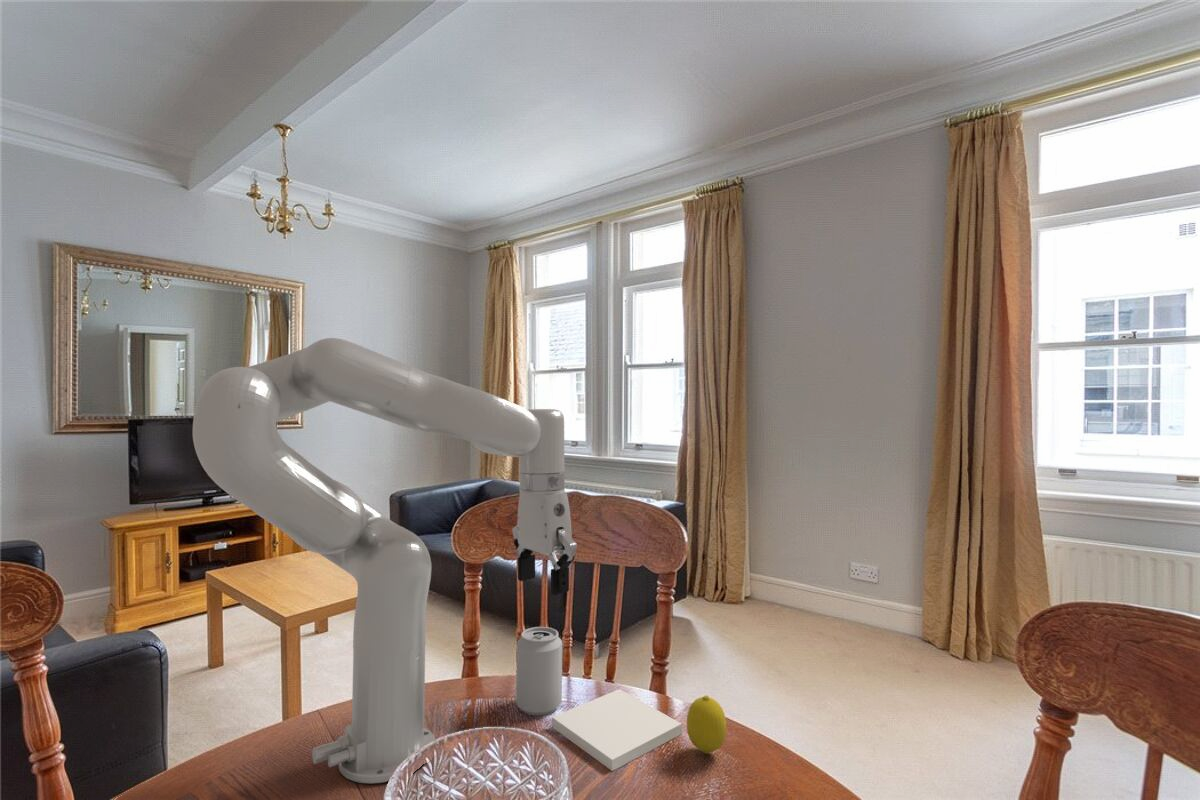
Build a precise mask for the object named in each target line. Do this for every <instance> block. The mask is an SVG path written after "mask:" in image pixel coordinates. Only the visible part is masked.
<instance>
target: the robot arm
mask: <svg viewBox="0 0 1200 800" xmlns="http://www.w3.org/2000/svg"><path fill="white" fill-rule="evenodd" d="M329 402H330V403H331V402H332V403H334V404H337V405H340V406H343V407H345V408H348V409H351V410H354V411H356V412H357V411H358V412H359V413H364V414H366V415H370V416H372V417H375V418H378V419H381V420H384V421H386V422H390V423H392V424H396V425H398V426H401V427H403V428H408V429H412V430H416V431H420V432H425V433H431V434H440V435H444V436H445V435H446V436H451V437H454V438H457V439H462V440H463V441H464V440H465V441H469V442H470V443H471V444H472V445H473V446H474V448H476V449H477V450H479V451H480V452H482V453H485V454H488V455H496V456H505V457H512V458H519V459H518V460H519V463H518V465H519V473H518V474H519V497H518V506H517V524H516V525H515V526H513V527H512V529H511V532H512V535H513V540H514V541H513V543H514V547H515V549H516V550H515V554H516V557H517V580H518V581H520V582H524V581H528V580H532V579H534V578H536V555H535V554H533V553H538V554H540V555H543V556H548V558H549V561H550V563H551V565H552V567H553V568H551V569H550V594H551V595H553V596H557V595H561V594H564V593H567V592H569V590H570V568H571V567H572V563H573V561H574V560H575V555H576V552H577V549H578V545H577V543H576V541H575V540H574V539H573V537H572V536H573V534H572V532H573V531H572V519H571V510H570V509H571V508H570V503H569V498H568V494H567V492H566V490H565V485H566V484H565V483H566V481H565V478H566V477H565V417H564V414H563V412H562V411H560V410H559V409H553V408H551V409H550V408H533V409H527V408H526V407H524V406H521V405H519V404H517V403H514V402H513V401H512V402H511V401H509V400H507V399H504V398H502V397H500V396H498V395H495V394H491V393H490V392H486V391H484V390H481V389H477V388H476V387H475V388H474V387H471V386H468V385H465V384H462V383H458V382H455V381H453V380H450V379H448V378H444V377H442V376H438V375H435V374H431V373H429V372H426V371H425V370H424V371H423V370H421V369H418V368H416V367H413V366H411V365H408V364H406V363H402V362H401V361H398V360H396V359H393V358H390V357H389V356H385V355H384V354H382V353H379V352H376V351H374V350H372V349H369V348H367V347H364V346H362V345H359V344H357V343H354V342H351V341H348V340H345V339H343V338H336V337H327V338H323V339H319V340H317V341H315V342H313V343H312V344H310V345H308V346H307V347H304V348H301V349H300V350H299V349H298V350H297V351H294V352H291V353H288V354H285V355H282V356H279V357H276V358H274V359H270V360H266V361H263V362H259V363H257V364H253V365H250V366H233V367H228V368H225V369H222V370H219V371H218V372H216V373H215V374H213V375H212V376H210V377H209V378H208V380H206V382H204V384H203V386H202V388H201V390H200V391H199V396H198V398H197V402H196V404H195V409H194V416H193V421H192V441H193V446H194V450H195V454H196V456H197V458H198V460H199V462H200V465H201V467H202V468H203V470H204V471H205V472H206V474H207V476H208V477H209V478H210V479H211V480H212V481H213V482H214V484H215V485H217V486H218V487H219V488H220V489H221V490H223V491H224V492H225V493H227V494H228V495H229V496H230V497H232V498H233V499H235V500H236V501H237V502H239V503H240V504H243V505H244V506H245V507H247V508H248V509H250V510H251V511H252V512H254V513H255V514H256V515H257V516H259V517H260V518H262V519H263V520H265V521H266V522H268V523H269V524H271V525H272V526H274V527H275V528H277V529H278V530H280V531H281V532H282V533H284V534H286V535H287V536H288V537H289V538H291V539H292V540H293V542H295V543H296V544H297V545H298V546H300V547H301V548H303V549H305V550H307V551H309V552H312V553H316V554H319V555H321V556H322V557H324V558H325V559H327V560H328V561H330V562H331V563H333V564H334V565H336V566H337V567H339V568H341V569H342V570H344V571H346V572H347V573H348V574H349V575H351V576H352V577H353V578H354V580H355V581H356V582H357V594H356V597H357V598H356V605H355V612H354V619H353V634H352V635H353V636H352V637H353V639H352V650H353V652H352V695H351V696H352V697H351V698H352V699H351V703H352V704H351V708H352V709H351V724H349V725H346V726H345V727H344V735H341V736H338V738H337V739H336V740H335V741H332V742H329V743H324V744H321V745H318V746H315V747H313V748H312V752H311V753H312V755H311V756H312V762H313V764H314V765H316V764H320V763H323V762H325V761H327V765H328V768H332V767H335V766H338V771H339V772H340V773H341V775H342V776H343V777H345V778H346V779H348V780H350V781H353V782H355V783H360V784H382V783H387V781H388V779H389V778H390V776H391V775H392V773H393V772H394V771H395V769H396V767H397V766H398V765H399V764H400V763H401V762H402V761H403V760H405V759H406V758H407V757H408V756H409V755H411V754H412V753H413V752H415V751H416V750H418V749H419V748H421V747H422V746H424V745H426V744H428V743H430V742H432V741H434V740H435V741H436V739H435V736H434V734H433V732H432V731H430V730H429V729H428V728H426V727H425V687H426V685H425V684H426V679H425V677H426V674H425V673H426V625H427V624H426V623H427V622H426V621H427V619H426V616H427V603H428V596H429V590H430V586H431V585H430V584H431V579H432V559H431V555H430V552H429V550H428V548H427V546H426V544H425V542H424V541H423V540H422V539H421V538H420V537H419V536H418V535H417V534H416V533H414V532H413V531H411V530H409V529H407V528H405V527H404V526H401V525H399V524H397V523H396V522H394V521H392V520H391V519H389V518H388V517H386V516H385V515H384V514H383V513H381V512H379V511H378V509H376V508H374V507H373V506H371V505H370V504H368V503H367V502H366V501H365V500H363V499H362V498H360V497H359V496H358V494H357V493H356V492H355V491H354V490H353V489H351V488H350V487H349V486H347V485H345V484H344V483H341V482H340V481H338V480H336V479H333V478H332V477H330V476H329V475H327V474H326V473H325V472H323V471H321V470H320V469H319V468H318V467H317V466H315V465H313V464H312V463H311V462H309V461H308V460H307V459H306V458H305V457H304V456H302V455H301V454H299V453H298V452H297V451H295V450H294V449H293V448H292V447H290V446H289V445H288V444H287V443H286V442H285V441H284V439H282V437H281V436H280V433H279V431H278V427H277V422H279V421H282V420H286V419H287V418H290V417H293V416H295V415H296V416H297V415H299V414H301V413H303V412H306V411H309V410H311V409H314V408H317V407H319V406H322V405H323V404H326V403H329ZM559 555H560V557H559V559H558V557H557V556H559ZM388 782H389V781H388Z"/></svg>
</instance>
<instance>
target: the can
mask: <svg viewBox="0 0 1200 800" xmlns="http://www.w3.org/2000/svg"><path fill="white" fill-rule="evenodd" d="M515 670H516V675H515V676H516V677H515V678H516V680H515V683H516V684H515V686H516V687H515V690H516V691H515V692H516V693H515V703H516V706H517V707H518V708H519V709H520V710H521V711H522V712H523V713H525V714H527V715H531V716H544V715H545V716H546V715H548V714H550V713H551V714H552V713H553V712H554V711H555V710H556V709H557V708H558V707H560V704H562V699H563V698H562V697H563V692H562V691H563V640H562V639H561V638H560V637H559V631H558V630H557V629H555V628H552V627H547V626H534V627H530V628H527V629H524V630H523V631H522V632H521V633H520V638H519V639H518V640H517V643H516V669H515Z"/></svg>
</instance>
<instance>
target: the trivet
mask: <svg viewBox="0 0 1200 800" xmlns="http://www.w3.org/2000/svg"><path fill="white" fill-rule="evenodd" d="M551 728H553V729H554V730H555V731H557V732H558V733H559V734H561V735H562V736H564V737H565V738H567V739H568V740H570V741H571V742H572V743H573V744H574V745H576V746H577V747H579V748H580V749H581V750H583V752H586V753H587V754H588V755H589V756H591V757H592V758H594V759H595V760H596V761H598V762H599V763H601V764H602V765H603V766H604V767H606V768H607V769H609V770H610V771H612V772H613V771H615V770H617V769H619V768H621V767H622V766H624V765H626V764H628V763H630V762H632V761H634V760H636V759H638V758H639V757H642V756H643V755H645V754H647V753H649V752H651V751H653V750H655V749H656V748H658V747H660V746H662V745H663V744H666V743H667V742H670V741H671V740H673V739H675V738H677V737H679V736H681V735H682V733H683V723H681V722H680V721H678V720H676V719H674V718H672V717H670V716H668V715H667V714H665V713H664V712H661V711H659V710H658V709H656V708H654V707H652V706H651V705H649V704H647V703H645V702H644V701H642V700H640V699H638V698H636V697H635V696H633V695H631V694H629V693H627V692H625V691H624V690H622V689H620V688H619V689H617V690H613V691H612V692H609V693H607V694H604V695H602V696H599V697H597V698H595V699H592V700H590V701H588V702H585V703H583V704H582V703H581V704H580V705H578V706H575V707H573V708H570V709H568V710H565V711H563V712H561V713H559V714H556V715H554V716H552V717H551Z"/></svg>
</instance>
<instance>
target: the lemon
mask: <svg viewBox="0 0 1200 800" xmlns="http://www.w3.org/2000/svg"><path fill="white" fill-rule="evenodd" d="M686 732H687V734H688V737H689V740H690V742H691V743H692V745H693V746H694V747H695V748H696V749H698V750H699V751H702V752H703V753H704V754H705V755H708V754H710V753H711V752H712V753H713V752H715V751H717V750H718V749H720V748H721V746H722V745H723V743H724V742H725V739H726V736H727V735H726V734H727V720H726V716H725V712H724V710H723V707H722V706H721V704H720V703H719V702H718V701H717V700H715V699H714V698H712V697H710V696H709V695H703V696H700V697H698V698H696V699H695V700H694V701H693V702H692V703H691V704H690V706H689V709H688V712H687V715H686Z"/></svg>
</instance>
